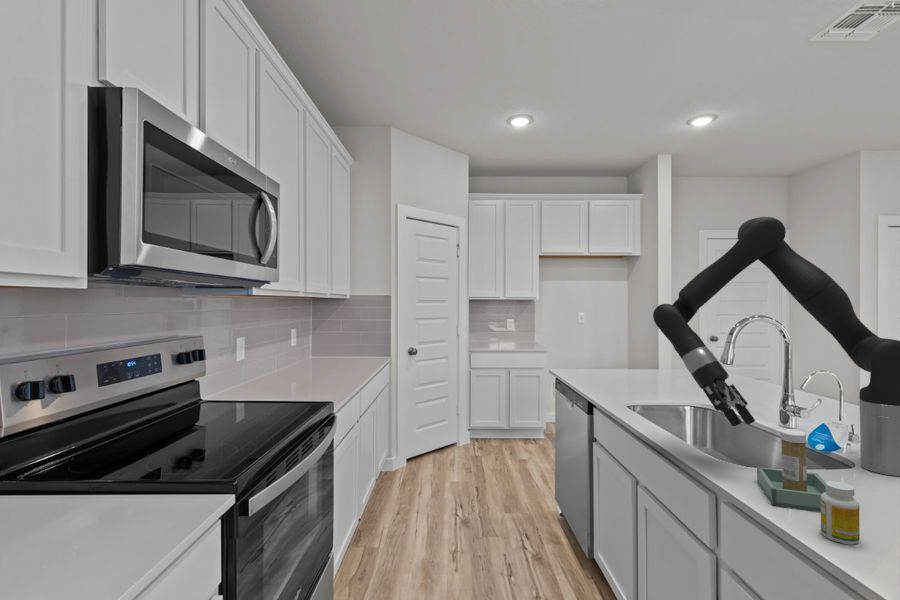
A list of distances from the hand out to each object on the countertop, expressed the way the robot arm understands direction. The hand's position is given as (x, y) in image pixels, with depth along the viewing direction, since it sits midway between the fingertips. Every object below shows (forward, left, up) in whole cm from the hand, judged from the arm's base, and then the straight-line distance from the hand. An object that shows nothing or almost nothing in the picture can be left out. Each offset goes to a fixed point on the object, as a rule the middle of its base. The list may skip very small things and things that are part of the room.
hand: (744, 423), depth 112 cm
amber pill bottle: (+2, +12, -12) cm, 17 cm away
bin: (+2, +12, -13) cm, 18 cm away
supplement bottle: (+13, +26, -13) cm, 32 cm away
